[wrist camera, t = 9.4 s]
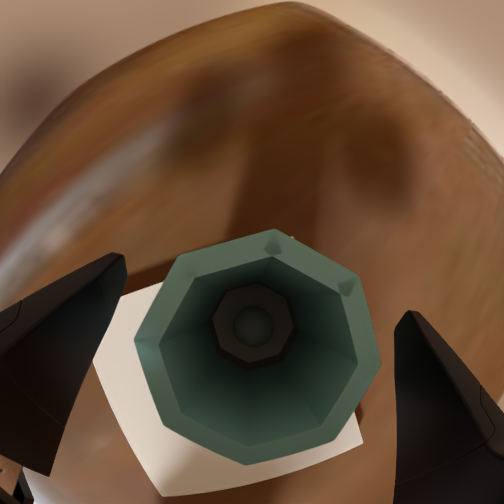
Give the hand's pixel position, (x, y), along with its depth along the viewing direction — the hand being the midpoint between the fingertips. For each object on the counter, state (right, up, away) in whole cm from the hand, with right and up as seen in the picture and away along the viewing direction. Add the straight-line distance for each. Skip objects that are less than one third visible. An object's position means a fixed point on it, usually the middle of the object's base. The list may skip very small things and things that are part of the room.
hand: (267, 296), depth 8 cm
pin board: (-3, -7, +9) cm, 12 cm away
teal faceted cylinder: (0, -3, +8) cm, 8 cm away
